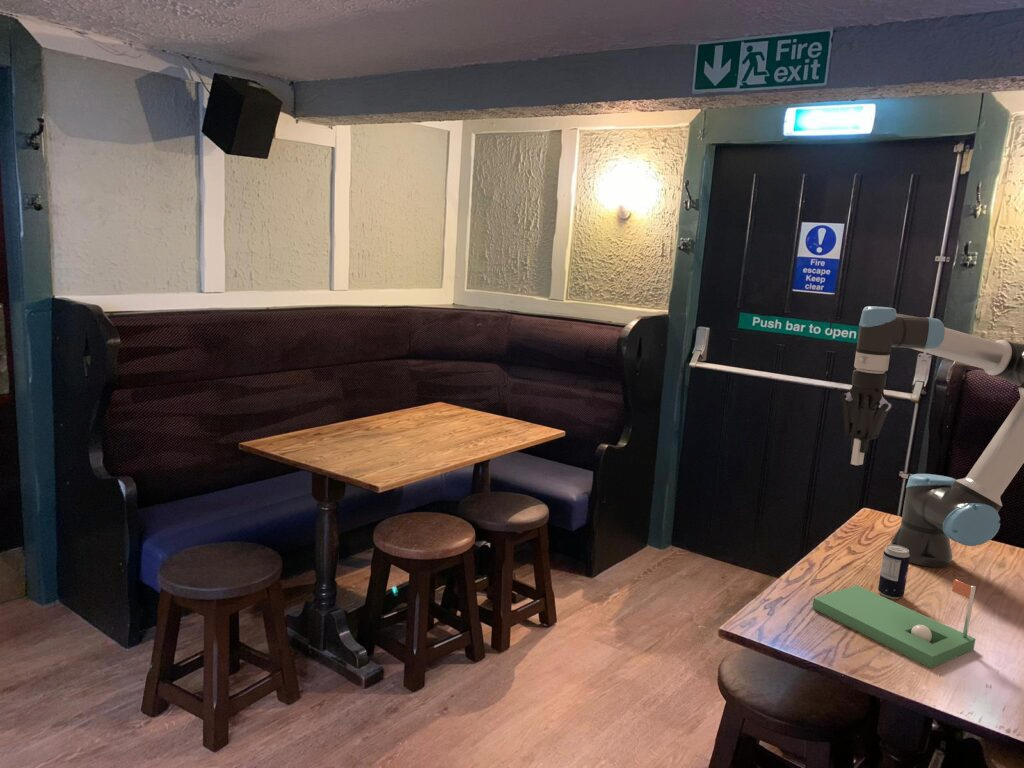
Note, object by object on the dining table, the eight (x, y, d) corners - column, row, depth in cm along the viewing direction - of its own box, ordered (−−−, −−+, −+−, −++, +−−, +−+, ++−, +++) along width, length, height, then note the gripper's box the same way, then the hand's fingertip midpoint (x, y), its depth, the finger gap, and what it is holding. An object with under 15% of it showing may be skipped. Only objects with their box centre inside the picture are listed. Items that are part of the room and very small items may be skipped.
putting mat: (855, 594, 187) (856, 585, 187) (973, 649, 164) (975, 638, 163) (812, 608, 179) (813, 598, 178) (930, 668, 156) (932, 656, 155)
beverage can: (906, 602, 185) (913, 554, 183) (880, 598, 186) (888, 551, 184) (899, 591, 190) (907, 545, 188) (874, 588, 191) (881, 542, 189)
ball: (914, 623, 168) (931, 621, 165) (921, 642, 167) (938, 640, 164) (903, 628, 166) (920, 626, 163) (911, 647, 165) (928, 645, 162)
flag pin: (944, 638, 168) (955, 578, 165) (965, 648, 164) (976, 586, 162) (942, 639, 167) (953, 579, 165) (963, 649, 164) (974, 587, 161)
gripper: (837, 366, 192) (824, 458, 196) (885, 376, 181) (871, 473, 185) (855, 365, 196) (843, 455, 200) (904, 374, 185) (890, 469, 189)
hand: (856, 464), depth 193 cm, fingers closed
